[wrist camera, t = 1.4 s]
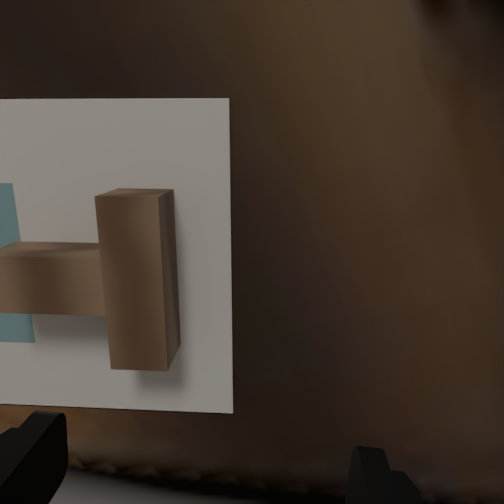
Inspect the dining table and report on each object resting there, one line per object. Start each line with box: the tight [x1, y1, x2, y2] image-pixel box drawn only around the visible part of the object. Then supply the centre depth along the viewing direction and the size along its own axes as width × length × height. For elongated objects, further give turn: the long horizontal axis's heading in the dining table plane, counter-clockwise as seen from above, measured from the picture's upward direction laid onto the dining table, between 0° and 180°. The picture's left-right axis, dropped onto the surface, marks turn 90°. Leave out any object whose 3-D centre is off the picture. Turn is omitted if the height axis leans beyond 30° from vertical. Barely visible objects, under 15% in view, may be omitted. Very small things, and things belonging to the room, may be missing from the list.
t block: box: [0, 188, 181, 371], centre depth 31 cm, size 12×12×4 cm
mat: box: [0, 98, 233, 413], centre depth 33 cm, size 32×24×1 cm
